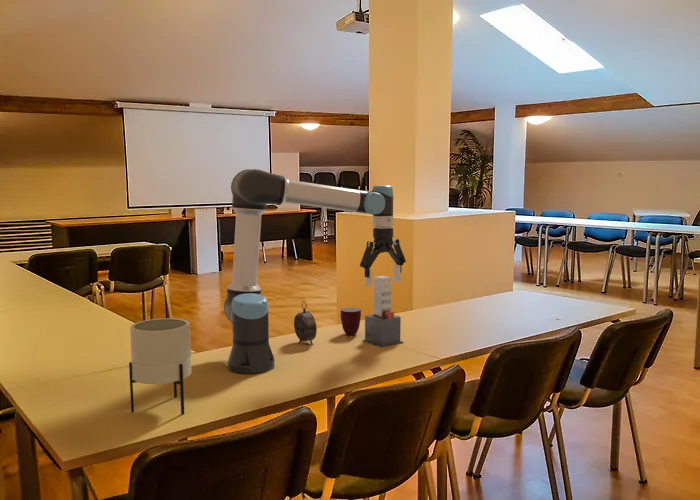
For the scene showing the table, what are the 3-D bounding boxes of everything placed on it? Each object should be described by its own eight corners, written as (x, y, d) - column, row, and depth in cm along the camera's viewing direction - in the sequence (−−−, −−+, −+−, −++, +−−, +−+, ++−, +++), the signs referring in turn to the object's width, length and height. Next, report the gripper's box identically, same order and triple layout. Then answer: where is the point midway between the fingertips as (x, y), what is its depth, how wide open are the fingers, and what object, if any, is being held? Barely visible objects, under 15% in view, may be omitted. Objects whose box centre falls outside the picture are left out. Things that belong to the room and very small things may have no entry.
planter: (129, 402, 169) (125, 321, 167) (188, 394, 176) (185, 315, 173) (133, 422, 155) (129, 334, 153) (196, 413, 162) (193, 327, 159)
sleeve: (380, 347, 223) (380, 314, 222) (362, 341, 232) (362, 309, 231) (403, 342, 230) (403, 310, 228) (384, 336, 239) (384, 305, 237)
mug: (359, 338, 236) (359, 313, 234) (338, 338, 236) (338, 313, 235) (361, 332, 246) (361, 307, 245) (341, 331, 247) (341, 307, 246)
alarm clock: (317, 345, 226) (317, 302, 224) (304, 347, 223) (304, 304, 222) (304, 339, 236) (303, 297, 234) (291, 341, 233) (291, 299, 231)
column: (382, 342, 227) (382, 278, 225) (374, 339, 231) (374, 277, 229) (391, 340, 230) (392, 277, 227) (383, 337, 234) (383, 275, 231)
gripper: (362, 230, 216) (363, 289, 218) (415, 225, 230) (415, 281, 233) (349, 228, 222) (350, 286, 224) (401, 224, 236) (402, 278, 239)
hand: (383, 284), depth 229 cm, fingers open, 13 cm apart
